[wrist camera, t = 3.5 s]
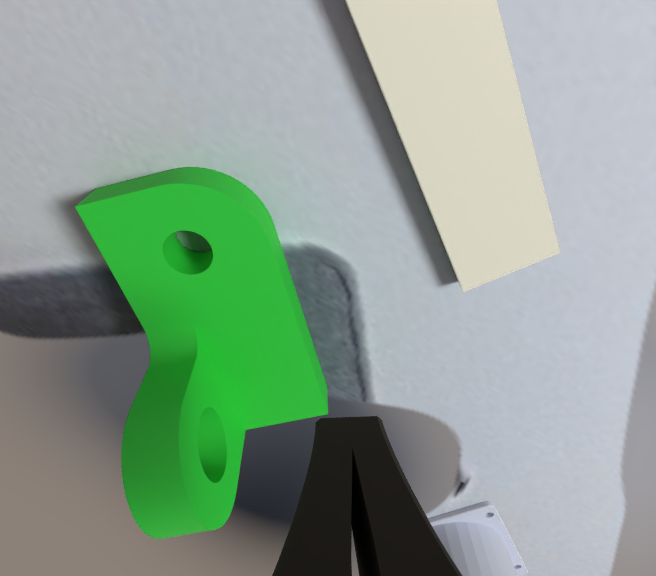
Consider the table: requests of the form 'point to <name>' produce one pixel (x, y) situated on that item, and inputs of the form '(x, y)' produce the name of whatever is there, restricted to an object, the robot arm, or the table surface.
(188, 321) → the mechanical part
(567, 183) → the table surface
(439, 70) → the plate
